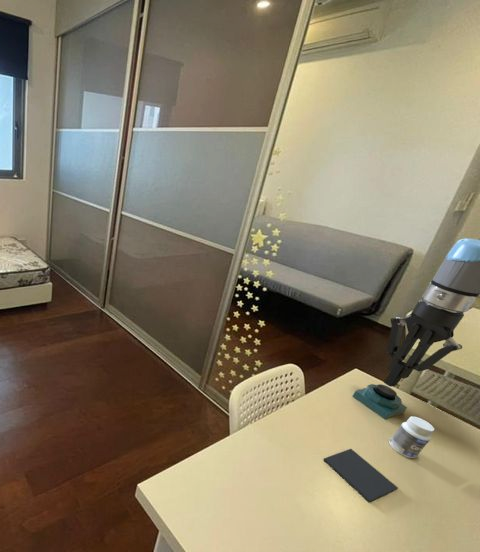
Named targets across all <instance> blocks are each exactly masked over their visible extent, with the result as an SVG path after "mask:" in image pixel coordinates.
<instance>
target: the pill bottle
mask: <svg viewBox="0 0 480 552" xmlns="http://www.w3.org/2000/svg"><path fill="white" fill-rule="evenodd" d="M434 431H435V427H434V426H433V425H432V424H431V423H430V422H428V421H427V420H425V419H423V418H421V417H418V416H410V417H408V419H407V420H406V421H404V422H402V423H401V424H400V426H399V427H398V429H397V430H396V431H395V432H394V434H393V435H392V437H391V438H390V439H389V445H390V447H391V448H392V449H393V450H394V451H395V452H396V453H398V454H400V455H401V456H403V457H404V458H405V457H406V458H408V459H416V458H417V457H418V455H419V454H420V453H421V452H422V451H423V449H424V448H425V447H426V445H427V444H428V443H429V442H430V441H431V438H432V437H431V436H432V435H433V433H434Z"/></svg>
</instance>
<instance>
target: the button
mask: <svg viewBox="0 0 480 552" xmlns="http://www.w3.org/2000/svg"><path fill="white" fill-rule="evenodd" d="M376 385H377V386H376V388H375V389H374V391H375V393H376V394H378V395H379V396H381V397H383V398H385V399H388V400H393V399H394V398H395V396H396V395H397V396H398V394H397V393H398V392H396V391H395V390H394V389H393V388H391V387H390V386H388V385H386V384H382V383H381V384H380V383H379V384H376Z"/></svg>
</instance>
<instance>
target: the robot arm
mask: <svg viewBox="0 0 480 552" xmlns="http://www.w3.org/2000/svg"><path fill="white" fill-rule="evenodd" d="M479 295H480V239H478V238H477V239H476V238H462V239H459V240H457V241H456V243H454V245H453V246H452V247H451V248H450V250H449V251H448V253H447V254H446V255H445V257H444V259H443V261H442V263H441V264H440V266H439V268H438V270H437V271H436V273H435V275H434V276H433V277H432V279H431V281H430V282H429V284H428V285H427V287H426V288H425V290H424V292H423V294H422V295H421V298H422V299H419V300H418V301H417V303H416V305H415V306H414V308H413V309H412V311H411V313H410V314H408V315H406V316H405V317H401V316H396V317H391V318H390V324H391V330H390V334H389V338H388V342H387V345H386V351H385V354H386V355H387V356H389V357H390V358H391V362H390V364H388V366H387V371H389V374H388V375H387V377H386V378H385V380H384V381H383V383H384V385H386V386H387V387H390V388H391V387H395V386H397V385H398V384H399V382H400V381H401V379H403V380H404V379H407V378H409V377H410V375H411V374H412V373H413V371H416V372H423V371H427V370H428V369H430V368H431V367H433V366H434V365H435V364H436V363H438V362H439V361H441V360H442V359H444V358H445V357H446V356H447V355H449V354H450V353H452V352H455V351H458V350H462V349H463V345H462V344H460V343H458V342H457V341H456V340H455V339H454V338H453V337H454V336H455V333H454V331H455V329H456V328H457V326H459V324H460V322H461V321H462V319H464V316H465V314H464V313H466V312H469V309H470V308H471V307H472V305H473V304H474V303H475V301H476V300H477V298H478V297H479ZM404 326H406V329H407V332H408V333H407V334H406V335H405V339H404V340H403V341H402V343H401V339H402V336H403V331H404ZM418 340H419V341H418ZM417 341H418V344H417V346H416V347H415V348H414V350H413V352H412V354H411V355H410V357H409V358H408V359H407V361H406V358H407V356H408V355H409V353H410V352H411V350H412V349H413V347H414V346H415V344H416V343H417ZM442 341H445V342H443V343H442V347H441V348H439V349H438V350H436V351H434V353H432V354H431V355H430V356H428V357H427V358H425V360H423V361H422V359H423V358H424V356H425V355H426V354H427V352H428V351H429V349H430V347H431V346H433V345H434V344H435V343H439V342H442ZM400 344H401V345H400ZM405 361H406V362H405Z"/></svg>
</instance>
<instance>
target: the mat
mask: <svg viewBox="0 0 480 552" xmlns="http://www.w3.org/2000/svg"><path fill="white" fill-rule="evenodd" d="M323 461H324V463H326V464H327V465H328V466H329V467H330V468H331V469H332V470H334V472H335V473H337V474H338V476H340V477H341V478H342V479H343V480H344V481H345V482H347V484H348V485H349V486H351V487H352V488H353V489H354V490H355V491H356V492H357V493H358V494H359V495H360V496H361V497H362V498H363V499H365V500H366V501H367V502H368V503H371V502H374V501H375V500H378V499H379V498H382V497H384V496H387V495H388V494H390V493H392V492H394V491H397V490H398V489H399V487H398V486H396V485H395V484H394V483H393V482H392V481H391V480H389V479H388V477H386V476H385V475H384V474H382V473H381V472H380V471H378V469H376V468H375V467H374V466H373V465H372V464H370V463H369V462H368V461H366V459H364V458H363V457H362V456H360V454H359V453H357V452H356V451H355V450H353V449H352V448H348V449H346V450H343V451H340V452H338V453H335V454H332V455H330V456H326V457H324V458H323Z"/></svg>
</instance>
